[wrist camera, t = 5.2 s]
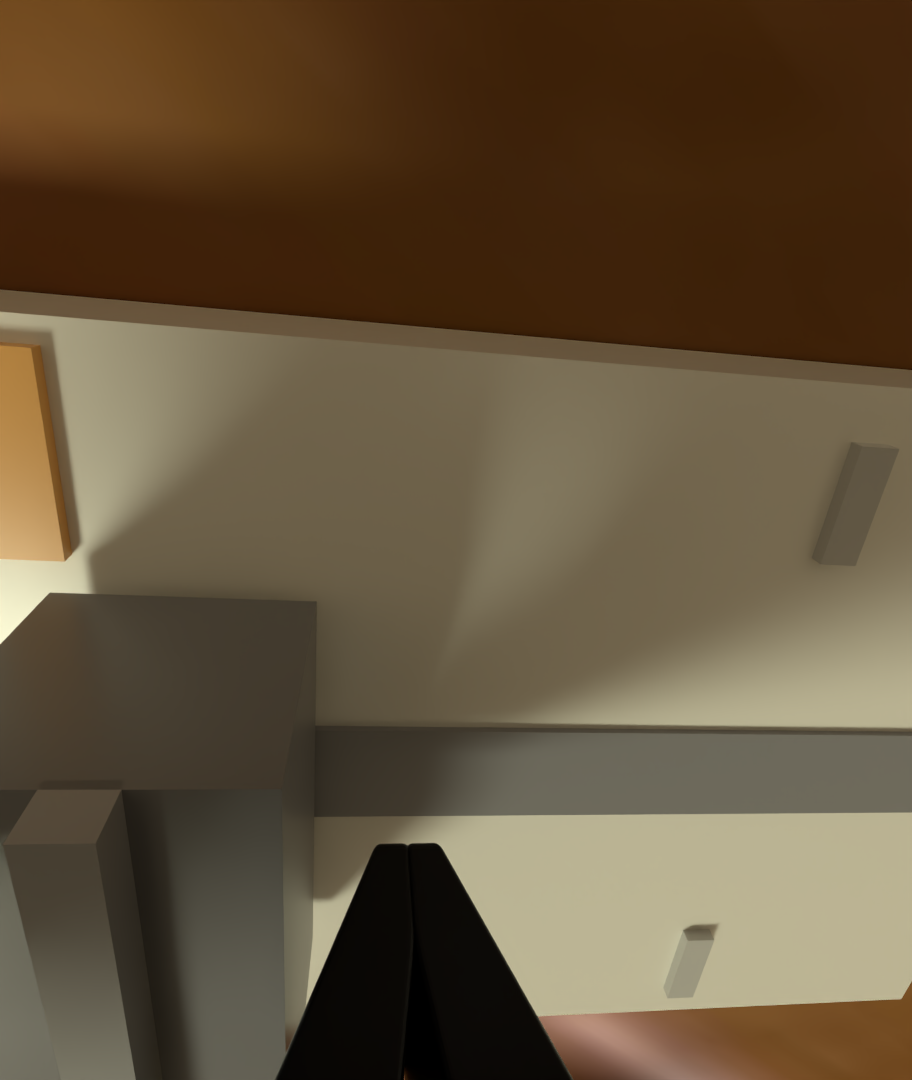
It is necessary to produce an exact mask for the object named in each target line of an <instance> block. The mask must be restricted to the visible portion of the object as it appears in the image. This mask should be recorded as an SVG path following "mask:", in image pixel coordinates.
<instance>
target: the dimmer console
mask: <svg viewBox="0 0 912 1080" xmlns="http://www.w3.org/2000/svg"><path fill="white" fill-rule="evenodd" d="M50 592H51V593H80V594H110V595H139V596H169V597H198V598H227V599H257V600H286V601H316V602H317V632H316V714H315V796H314V879H313V939H312V949H311V959H310V969H309V978H308V988H307V998H306V1005H307V1003H308V1001H309V998H310V996H311V994H312V991H313V989H314V987H315V984H316V982H317V980H318V977H319V975H320V973H321V970H322V968H323V966H324V963H325V961H326V959H327V956H328V954H329V952H330V949H331V947H332V945H333V942H334V940H335V938H336V935H337V933H338V931H339V928H340V926H341V924H342V921H343V919H344V917H345V914H346V912H347V910H348V907H349V905H350V903H351V900H352V898H353V896H354V893H355V891H356V889H357V886H358V884H359V882H360V879H361V877H362V875H363V872H364V870H365V868H366V865H367V863H368V861H369V858H370V856H371V854H372V851H373V849H374V848H375V847H376V845H378V844H391V843H403V844H406V845H407V846H408V845H409V844H411V843H437V844H438V845H440V846H441V847H442V849H443V850H444V852H445V854H446V856H447V857H448V859H449V861H450V863H451V864H452V866H453V868H454V870H455V872H456V873H457V875H458V877H459V879H460V880H461V882H462V884H463V886H464V887H465V889H466V891H467V893H468V894H469V896H470V898H471V900H472V902H473V903H474V905H475V907H476V909H477V910H478V912H479V914H480V916H481V917H482V919H483V921H484V923H485V925H486V926H487V928H488V930H489V932H490V933H491V935H492V937H493V939H494V940H495V942H496V944H497V946H498V947H499V949H500V951H501V953H502V955H503V956H504V958H505V960H506V962H507V963H508V965H509V967H510V969H511V970H512V972H513V974H514V976H515V978H516V979H517V981H518V983H519V985H520V986H521V988H522V990H523V992H524V993H525V995H526V997H527V999H528V1000H529V1002H530V1004H531V1006H532V1008H533V1009H534V1011H535V1013H536V1015H537V1016H554V1015H575V1014H596V1013H617V1012H638V1011H659V1010H680V1009H701V1008H722V1007H743V1006H764V1005H785V1004H806V1003H827V1002H848V1001H869V1000H890V999H902V997H903V995H904V993H905V992H906V990H907V988H908V986H909V985H910V983H911V981H912V370H905V369H893V368H882V367H871V366H860V365H848V364H837V363H826V362H814V361H803V360H792V359H780V358H769V357H758V356H746V355H735V354H724V353H712V352H701V351H690V350H679V349H667V348H656V347H645V346H633V345H622V344H611V343H599V342H588V341H577V340H565V339H554V338H543V337H532V336H520V335H509V334H498V333H486V332H475V331H464V330H452V329H441V328H430V327H418V326H407V325H396V324H384V323H373V322H362V321H351V320H339V319H328V318H317V317H305V316H294V315H283V314H271V313H260V312H249V311H237V310H226V309H215V308H204V307H192V306H181V305H170V304H158V303H147V302H136V301H124V300H113V299H102V298H90V297H79V296H68V295H56V294H45V293H34V292H23V291H11V290H0V644H1V643H2V642H3V641H4V640H5V639H6V638H7V637H8V636H9V635H10V634H11V632H12V631H13V630H14V629H15V628H16V627H17V626H18V625H19V624H20V623H21V622H22V621H23V620H24V619H25V618H26V617H27V616H28V615H29V614H30V613H31V611H32V610H33V609H34V608H35V607H36V606H37V605H38V604H39V603H40V602H41V601H42V600H43V599H44V598H45V597H46V596H47V595H48V594H49V593H50Z"/></svg>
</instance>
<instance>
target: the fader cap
mask: <svg viewBox="0 0 912 1080" xmlns="http://www.w3.org/2000/svg"><path fill="white" fill-rule="evenodd" d="M316 632H317V602H316V601H286V600H257V599H227V598H198V597H169V596H139V595H110V594H80V593H51V592H50V593H49V594H48V595H47V596H46V597H45V598H44V599H43V600H42V601H41V602H40V603H39V604H38V605H37V606H36V607H35V608H34V609H33V610H32V611H31V613H30V614H29V615H28V616H27V617H26V618H25V619H24V620H23V621H22V622H21V623H20V624H19V625H18V626H17V627H16V628H15V629H14V630H13V631H12V632H11V634H10V635H9V636H8V637H7V638H6V639H5V640H4V641H3V642H2V643H1V644H0V1080H275V1078H276V1075H277V1073H278V1071H279V1068H280V1066H281V1064H282V1061H283V1059H284V1057H285V1054H286V1052H287V1050H288V1047H289V1045H290V1043H291V1040H292V1038H293V1036H294V1033H295V1031H296V1029H297V1026H298V1024H299V1022H300V1019H301V1017H302V1015H303V1012H304V1010H305V1008H306V998H307V988H308V978H309V969H310V959H311V949H312V939H313V879H314V796H315V714H316Z"/></svg>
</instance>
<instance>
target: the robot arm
mask: <svg viewBox="0 0 912 1080" xmlns="http://www.w3.org/2000/svg"><path fill="white" fill-rule="evenodd" d="M404 1076H405V1080H573V1078H572V1076H571V1075H570V1073H569V1071H568V1069H567V1068H566V1066H565V1064H564V1062H563V1061H562V1059H561V1057H560V1055H559V1053H558V1052H557V1050H556V1048H555V1046H554V1045H553V1043H552V1041H551V1039H550V1038H549V1036H548V1034H547V1032H546V1030H545V1029H544V1027H543V1025H542V1023H541V1022H540V1020H539V1018H538V1016H537V1015H536V1013H535V1011H534V1009H533V1008H532V1006H531V1004H530V1002H529V1000H528V999H527V997H526V995H525V993H524V992H523V990H522V988H521V986H520V985H519V983H518V981H517V979H516V978H515V976H514V974H513V972H512V970H511V969H510V967H509V965H508V963H507V962H506V960H505V958H504V956H503V955H502V953H501V951H500V949H499V947H498V946H497V944H496V942H495V940H494V939H493V937H492V935H491V933H490V932H489V930H488V928H487V926H486V925H485V923H484V921H483V919H482V917H481V916H480V914H479V912H478V910H477V909H476V907H475V905H474V903H473V902H472V900H471V898H470V896H469V894H468V893H467V891H466V889H465V887H464V886H463V884H462V882H461V880H460V879H459V877H458V875H457V873H456V872H455V870H454V868H453V866H452V864H451V863H450V861H449V859H448V857H447V856H446V854H445V852H444V850H443V849H442V847H441V846H440V845H438V844H437V843H411V844H409V845H408V846H407V845H406V844H403V843H391V844H378V845H376V847H375V848H374V849H373V851H372V854H371V856H370V858H369V861H368V863H367V865H366V868H365V870H364V872H363V875H362V877H361V879H360V882H359V884H358V886H357V889H356V891H355V893H354V896H353V898H352V900H351V903H350V905H349V907H348V910H347V912H346V914H345V917H344V919H343V921H342V924H341V926H340V928H339V931H338V933H337V935H336V938H335V940H334V942H333V945H332V947H331V949H330V952H329V954H328V956H327V959H326V961H325V963H324V966H323V968H322V970H321V973H320V975H319V977H318V980H317V982H316V984H315V987H314V989H313V991H312V994H311V996H310V998H309V1001H308V1003H307V1005H306V1008H305V1010H304V1012H303V1015H302V1017H301V1019H300V1022H299V1024H298V1026H297V1029H296V1031H295V1033H294V1036H293V1038H292V1040H291V1043H290V1045H289V1047H288V1050H287V1052H286V1054H285V1057H284V1059H283V1061H282V1064H281V1066H280V1068H279V1071H278V1073H277V1075H276V1078H275V1080H404Z"/></svg>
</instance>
